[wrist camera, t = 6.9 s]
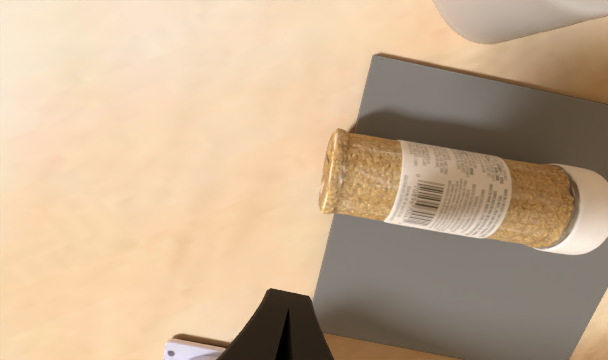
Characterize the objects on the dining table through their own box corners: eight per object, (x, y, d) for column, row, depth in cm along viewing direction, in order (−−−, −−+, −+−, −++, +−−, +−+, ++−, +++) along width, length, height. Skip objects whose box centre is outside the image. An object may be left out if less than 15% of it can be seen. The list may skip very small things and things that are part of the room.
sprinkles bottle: (316, 200, 20) (536, 237, 20) (317, 224, 15) (602, 273, 15) (330, 124, 19) (560, 163, 19) (335, 126, 14) (638, 177, 14)
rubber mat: (554, 372, 23) (559, 377, 23) (307, 325, 23) (306, 329, 22) (687, 122, 18) (695, 122, 18) (372, 55, 18) (373, 54, 17)
